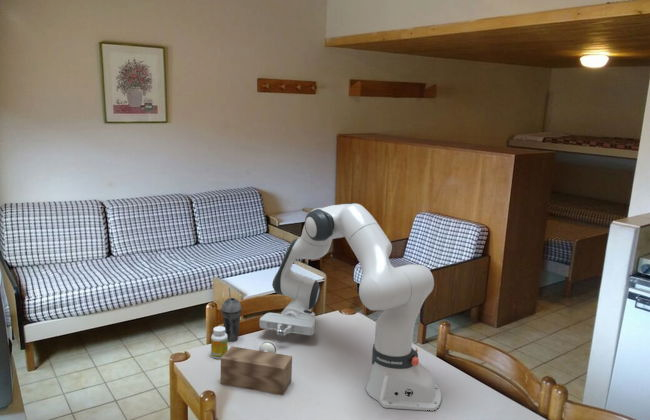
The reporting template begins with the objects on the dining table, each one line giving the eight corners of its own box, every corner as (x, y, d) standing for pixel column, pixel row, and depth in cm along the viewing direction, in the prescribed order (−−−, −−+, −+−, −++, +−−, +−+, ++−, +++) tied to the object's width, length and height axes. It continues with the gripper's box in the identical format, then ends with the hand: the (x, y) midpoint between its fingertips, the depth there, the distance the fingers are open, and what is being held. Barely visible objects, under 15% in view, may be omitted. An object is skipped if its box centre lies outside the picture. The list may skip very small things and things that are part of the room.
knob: (276, 356, 162) (277, 341, 161) (267, 370, 154) (267, 354, 153) (261, 353, 164) (262, 339, 162) (251, 367, 155) (251, 352, 154)
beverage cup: (245, 338, 181) (246, 286, 177) (231, 346, 175) (232, 292, 171) (230, 333, 185) (231, 281, 181) (216, 340, 179) (216, 287, 175)
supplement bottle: (223, 360, 165) (223, 333, 163) (208, 358, 166) (208, 331, 164) (230, 352, 170) (230, 326, 168) (215, 350, 171) (215, 324, 169)
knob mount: (291, 381, 154) (292, 356, 153) (283, 395, 147) (284, 368, 145) (231, 370, 159) (231, 346, 157) (220, 383, 151) (220, 358, 150)
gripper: (266, 306, 188) (252, 320, 175) (319, 313, 183) (308, 328, 170) (266, 321, 189) (252, 337, 176) (318, 329, 185) (308, 345, 172)
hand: (280, 333), depth 173 cm, fingers closed
